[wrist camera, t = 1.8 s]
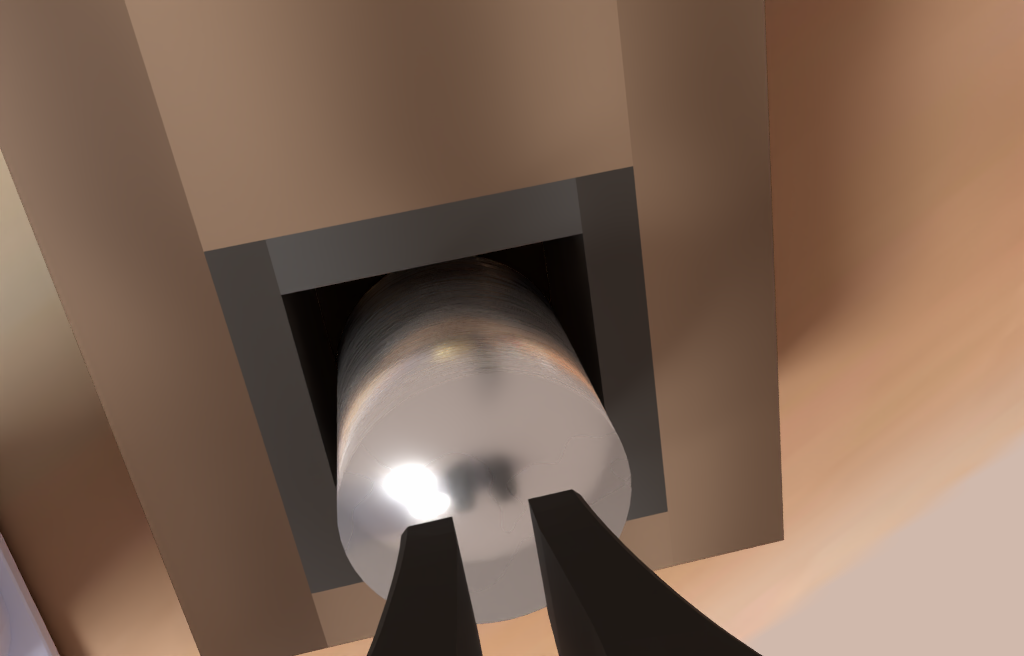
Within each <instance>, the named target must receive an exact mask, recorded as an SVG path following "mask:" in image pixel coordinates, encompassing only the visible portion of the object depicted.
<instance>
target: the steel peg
mask: <svg viewBox="0 0 1024 656" xmlns="http://www.w3.org/2000/svg"><path fill="white" fill-rule="evenodd" d="M570 489H572V490H574V491H576V492H577V493H579V494H580V495H581V496H582V497H583V498H584V500H585V501H586V502H587V504H588V505H589V506H590V507H591V508H592V510H593V511H594V512H595V513H596V514H597V516H598V517H599V518H600V519H601V520H602V521H603V522H604V523H605V525H606V526H607V527H608V528H609V529H610V530H611V531H612V532H613V533H614V534H615V535H616V536H617V537H618V538H619V537H620V535H621V532H622V530H623V527H624V525H625V523H626V519H627V515H628V511H629V507H630V499H631V473H630V468H629V463H628V459H627V456H626V453H625V450H624V448H623V445H622V443H621V441H620V439H619V437H618V435H617V433H616V431H615V429H614V427H613V425H612V423H611V421H610V419H609V417H608V416H607V414H606V412H605V410H604V408H603V406H602V404H601V402H600V400H599V398H598V396H597V394H596V392H595V390H594V388H593V386H592V384H591V382H590V380H589V378H588V376H587V375H586V373H585V371H584V369H583V367H582V365H581V363H580V361H579V359H578V357H577V355H576V353H575V351H574V349H573V347H572V345H571V343H570V341H569V339H568V337H567V336H566V334H565V332H564V330H563V328H562V326H561V324H560V322H559V320H558V318H557V316H556V314H555V312H554V310H553V309H552V307H551V305H550V303H549V301H548V300H547V299H546V297H545V296H544V295H543V293H542V292H541V291H540V290H539V289H538V288H537V287H536V286H535V285H534V284H533V283H532V282H531V281H530V280H529V279H527V278H526V277H525V276H523V275H522V274H521V273H519V272H518V271H516V270H514V269H512V268H510V267H508V266H507V265H504V264H502V263H499V262H496V261H494V260H491V259H486V258H482V257H478V256H469V257H464V258H460V259H455V260H450V261H445V262H440V263H435V264H430V265H425V266H420V267H416V268H411V269H406V270H401V271H396V272H392V273H390V274H388V275H387V276H385V277H384V278H383V279H381V280H380V281H379V282H377V283H376V284H375V285H374V286H373V287H372V288H371V289H370V290H368V291H367V292H366V293H365V294H364V296H363V297H362V298H361V299H360V301H359V302H358V303H357V304H356V306H355V307H354V309H353V311H352V312H351V314H350V316H349V317H348V319H347V322H346V324H345V326H344V329H343V331H342V335H341V338H340V342H339V347H338V356H337V522H338V529H339V534H340V539H341V542H342V545H343V548H344V550H345V553H346V555H347V557H348V559H349V561H350V563H351V564H352V566H353V568H354V570H355V571H356V572H357V573H358V575H359V576H360V577H361V578H362V580H363V581H364V582H365V583H366V584H367V585H368V586H369V587H370V588H371V589H372V590H373V591H374V592H375V593H377V594H378V595H379V596H381V597H382V598H384V599H385V600H387V597H388V593H389V590H390V586H391V583H392V579H393V575H394V571H395V567H396V563H397V558H398V553H399V548H400V540H401V535H402V533H403V532H404V531H405V529H406V528H407V527H408V526H412V525H416V524H421V523H425V522H430V521H434V520H438V519H443V518H447V517H453V522H454V526H455V531H456V535H457V540H458V544H459V549H460V553H461V558H462V562H463V567H464V571H465V576H466V580H467V585H468V589H469V594H470V598H471V603H472V607H473V612H474V616H475V621H476V624H484V623H494V622H499V621H505V620H510V619H514V618H517V617H520V616H524V615H527V614H530V613H532V612H535V611H537V610H540V609H542V608H545V607H547V604H546V598H545V593H544V587H543V581H542V576H541V570H540V565H539V559H538V553H537V548H536V542H535V536H534V531H533V525H532V520H531V514H530V508H529V503H528V499H531V498H535V497H540V496H544V495H548V494H553V493H557V492H562V491H566V490H570Z"/></svg>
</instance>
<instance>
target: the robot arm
mask: <svg viewBox="0 0 1024 656" xmlns="http://www.w3.org/2000/svg"><path fill="white" fill-rule="evenodd" d="M528 503H529V508H530V514H531V520H532V525H533V531H534V536H535V542H536V548H537V553H538V559H539V565H540V570H541V576H542V581H543V587H544V593H545V598H546V604H547V610H548V615H549V619H550V623H551V627H552V630H553V634H554V638H555V642H556V646H557V650H558V653H559V656H762V655H761V654H759V653H757V652H756V651H754V650H753V649H752V648H750V647H749V646H747V645H746V644H744V643H743V642H741V641H740V640H738V639H737V638H735V637H734V636H732V635H731V634H729V633H728V632H727V631H725V630H724V629H723V628H721V627H720V626H718V625H717V624H716V623H714V622H713V621H712V620H710V619H709V618H708V617H706V616H705V615H704V614H703V613H701V612H700V611H699V610H698V609H696V608H695V607H694V606H693V605H691V604H690V603H689V602H688V601H686V600H685V599H684V598H683V597H681V596H680V595H679V594H678V593H677V592H675V591H674V590H673V589H672V588H671V587H670V586H669V585H667V584H666V583H665V582H664V581H663V580H662V579H660V578H659V577H658V576H657V575H656V574H655V573H654V572H653V571H652V570H651V569H650V568H649V567H648V566H646V565H645V564H644V563H643V562H642V561H641V560H640V559H639V558H638V557H637V556H636V555H635V554H634V553H633V552H632V551H631V550H630V549H629V548H628V547H626V546H625V545H624V544H623V543H622V541H621V540H620V539H619V538H618V537H617V536H616V535H615V534H614V533H613V532H612V531H611V530H610V529H609V528H608V527H607V526H606V525H605V523H604V522H603V521H602V520H601V519H600V518H599V517H598V516H597V514H596V513H595V512H594V511H593V510H592V508H591V507H590V506H589V505H588V504H587V502H586V501H585V500H584V498H583V497H582V496H581V495H580V494H579V493H577V492H576V491H574V490H572V489H570V490H566V491H562V492H557V493H553V494H548V495H544V496H540V497H535V498H531V499H528ZM0 656H60V655H59V653H58V651H57V649H56V647H55V645H54V642H53V640H52V638H51V636H50V634H49V632H48V630H47V628H46V626H45V624H44V622H43V620H42V618H41V615H40V613H39V611H38V609H37V607H36V605H35V603H34V601H33V599H32V597H31V595H30V593H29V590H28V588H27V586H26V584H25V582H24V580H23V578H22V576H21V574H20V572H19V570H18V568H17V565H16V563H15V561H14V559H13V557H12V555H11V553H10V551H9V549H8V547H7V545H6V543H5V541H4V538H3V536H2V534H1V532H0ZM367 656H483V655H482V650H481V645H480V640H479V635H478V630H477V625H476V621H475V616H474V612H473V607H472V603H471V598H470V594H469V589H468V585H467V580H466V576H465V571H464V567H463V562H462V558H461V553H460V549H459V544H458V540H457V535H456V531H455V526H454V522H453V517H447V518H443V519H438V520H434V521H430V522H425V523H421V524H416V525H412V526H408V527H407V528H406V529H405V531H404V532H403V533H402V535H401V540H400V548H399V553H398V558H397V563H396V567H395V571H394V575H393V579H392V583H391V586H390V590H389V593H388V597H387V600H386V603H385V606H384V609H383V612H382V615H381V618H380V621H379V624H378V627H377V630H376V633H375V636H374V639H373V641H372V644H371V647H370V649H369V651H368V654H367Z"/></svg>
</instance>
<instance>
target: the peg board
mask: <svg viewBox="0 0 1024 656" xmlns="http://www.w3.org/2000/svg"><path fill="white" fill-rule="evenodd" d="M0 149H1V151H2V154H3V156H4V159H5V161H6V164H7V166H8V169H9V171H10V174H11V176H12V179H13V182H14V184H15V187H16V189H17V192H18V194H19V197H20V199H21V202H22V204H23V207H24V209H25V212H26V214H27V217H28V220H29V222H30V225H31V227H32V230H33V232H34V235H35V237H36V240H37V242H38V245H39V247H40V250H41V252H42V255H43V258H44V260H45V263H46V265H47V268H48V270H49V273H50V275H51V278H52V280H53V283H54V285H55V288H56V290H57V293H58V296H59V298H60V301H61V303H62V306H63V308H64V311H65V313H66V316H67V318H68V321H69V323H70V326H71V328H72V331H73V334H74V336H75V339H76V341H77V344H78V346H79V349H80V351H81V354H82V356H83V359H84V361H85V364H86V367H87V369H88V372H89V374H90V377H91V379H92V382H93V384H94V387H95V389H96V392H97V394H98V397H99V399H100V402H101V405H102V407H103V410H104V412H105V415H106V417H107V420H108V422H109V425H110V427H111V430H112V432H113V435H114V437H115V440H116V443H117V445H118V448H119V450H120V453H121V455H122V458H123V460H124V463H125V465H126V468H127V470H128V473H129V475H130V478H131V481H132V483H133V486H134V488H135V491H136V493H137V496H138V498H139V501H140V503H141V506H142V508H143V511H144V513H145V516H146V519H147V521H148V524H149V526H150V529H151V531H152V534H153V536H154V539H155V541H156V544H157V546H158V549H159V551H160V554H161V557H162V559H163V562H164V564H165V567H166V569H167V572H168V574H169V577H170V579H171V582H172V584H173V587H174V589H175V592H176V595H177V597H178V600H179V602H180V605H181V607H182V610H183V612H184V615H185V617H186V620H187V622H188V625H189V628H190V630H191V633H192V635H193V638H194V640H195V643H196V645H197V648H198V650H199V653H200V655H201V656H294V655H299V654H303V653H307V652H311V651H316V650H320V649H324V648H328V647H333V646H337V645H341V644H345V643H350V642H354V641H358V640H362V639H366V638H371V637H374V636H375V633H376V630H377V627H378V624H379V621H380V618H381V615H382V612H383V609H384V606H385V603H386V600H385V599H384V598H382V597H381V596H379V595H378V594H377V593H375V592H374V591H373V590H372V589H371V588H370V587H369V586H368V585H367V584H366V583H365V582H364V581H363V580H362V578H361V577H360V576H359V575H358V573H357V572H356V571H355V570H354V568H353V566H352V564H351V563H350V561H349V559H348V557H347V555H346V553H345V550H344V548H343V545H342V542H341V539H340V534H339V529H338V522H337V368H336V365H335V361H334V357H333V353H332V350H331V346H330V342H329V338H328V335H327V331H326V327H325V323H324V319H323V316H322V312H321V308H320V304H319V301H318V297H317V293H316V289H315V288H318V287H323V286H328V285H332V284H337V283H342V282H347V281H352V280H357V279H362V278H367V277H372V276H376V275H381V274H386V273H391V272H396V271H401V270H406V269H411V268H416V267H420V266H425V265H430V264H435V263H440V262H445V261H450V260H455V259H460V258H464V257H469V256H474V255H479V254H484V253H489V252H494V251H499V250H504V249H508V248H513V247H518V246H523V245H528V244H533V243H538V242H543V249H544V256H545V263H546V269H547V276H548V283H549V290H550V296H551V303H552V309H553V310H554V312H555V314H556V316H557V318H558V320H559V322H560V324H561V326H562V328H563V330H564V332H565V334H566V336H567V337H568V339H569V341H570V343H571V345H572V347H573V349H574V351H575V353H576V355H577V357H578V359H579V361H580V363H581V365H582V367H583V369H584V371H585V373H586V375H587V376H588V378H589V380H590V382H591V384H592V386H593V388H594V390H595V392H596V394H597V396H598V398H599V400H600V402H601V404H602V406H603V408H604V410H605V412H606V414H607V416H608V417H609V419H610V421H611V423H612V425H613V427H614V429H615V431H616V433H617V435H618V437H619V439H620V441H621V443H622V445H623V448H624V450H625V453H626V456H627V459H628V463H629V468H630V473H631V499H630V507H629V511H628V515H627V519H626V523H625V525H624V527H623V530H622V532H621V535H620V537H619V539H620V540H621V541H622V543H623V544H624V545H625V546H626V547H628V548H629V549H630V550H631V551H632V552H633V553H634V554H635V555H636V556H637V557H638V558H639V559H640V560H641V561H642V562H643V563H644V564H645V565H646V566H648V567H649V568H650V569H651V570H652V571H655V570H659V569H663V568H667V567H671V566H676V565H680V564H684V563H688V562H693V561H697V560H701V559H705V558H710V557H714V556H718V555H722V554H727V553H731V552H735V551H739V550H743V549H748V548H752V547H756V546H760V545H765V544H769V543H773V542H777V541H782V540H784V530H783V502H782V474H781V446H780V418H779V391H778V363H777V335H776V307H775V279H774V252H773V224H772V196H771V168H770V141H769V113H768V85H767V57H766V29H765V2H764V0H0Z"/></svg>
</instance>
